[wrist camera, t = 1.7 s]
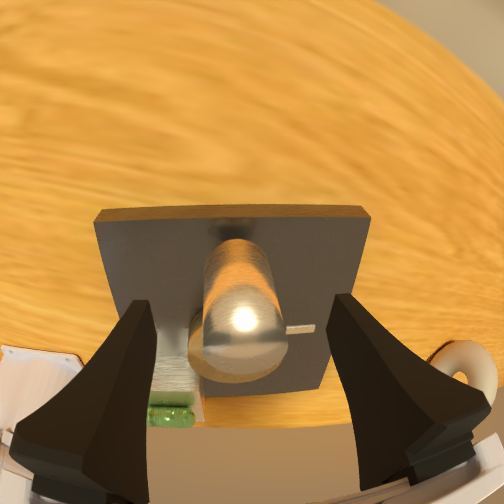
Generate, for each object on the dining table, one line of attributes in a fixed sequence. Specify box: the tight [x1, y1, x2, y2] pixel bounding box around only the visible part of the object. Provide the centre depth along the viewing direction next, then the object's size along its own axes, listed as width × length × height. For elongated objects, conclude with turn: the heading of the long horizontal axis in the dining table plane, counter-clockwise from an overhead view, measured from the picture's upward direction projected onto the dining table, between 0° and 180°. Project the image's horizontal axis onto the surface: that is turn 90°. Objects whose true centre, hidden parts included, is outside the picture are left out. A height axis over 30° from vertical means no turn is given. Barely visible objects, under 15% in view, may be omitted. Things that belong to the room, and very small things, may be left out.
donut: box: [429, 340, 498, 406], centre depth 24 cm, size 10×4×10 cm, turn 161°
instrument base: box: [93, 204, 371, 428], centre depth 19 cm, size 15×17×6 cm
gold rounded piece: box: [187, 239, 288, 383], centre depth 16 cm, size 12×6×7 cm, turn 178°
